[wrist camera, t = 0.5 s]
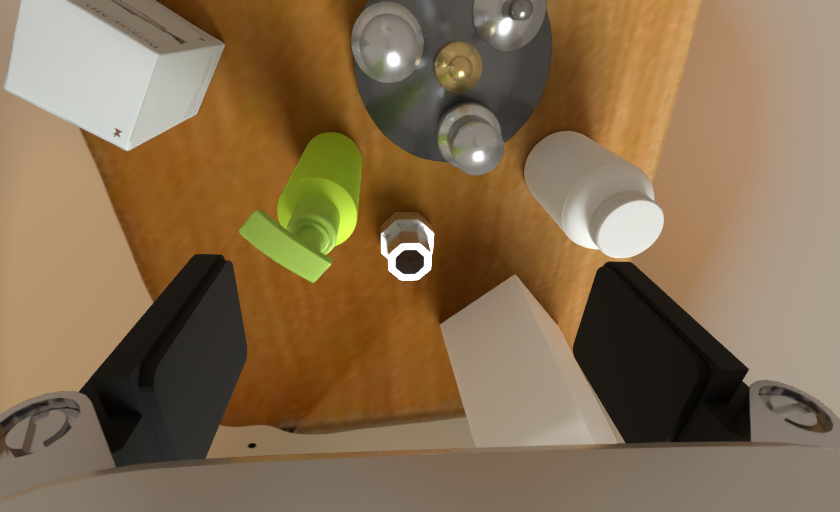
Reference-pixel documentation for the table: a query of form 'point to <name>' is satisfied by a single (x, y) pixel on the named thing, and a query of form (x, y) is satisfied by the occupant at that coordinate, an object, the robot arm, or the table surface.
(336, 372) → the table surface
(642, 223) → the pill bottle
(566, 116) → the table surface
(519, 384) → the milk
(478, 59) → the carrier
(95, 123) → the supplement box
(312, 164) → the soap dispenser
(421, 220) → the octagonal collar pipe
